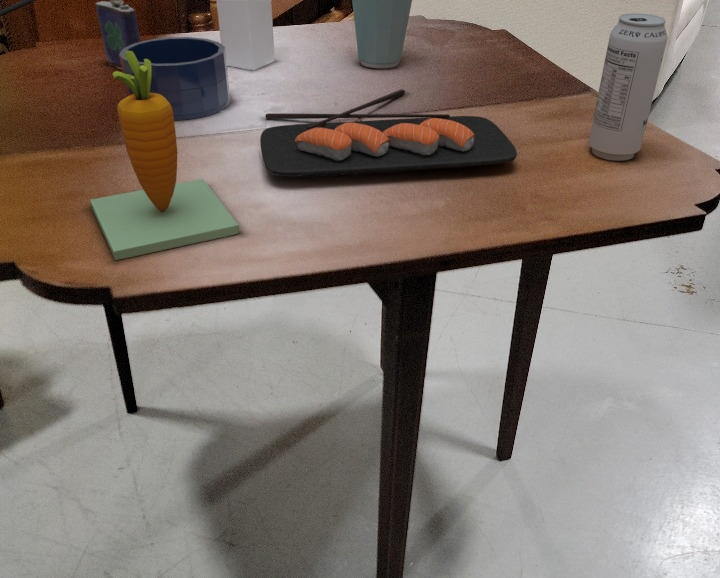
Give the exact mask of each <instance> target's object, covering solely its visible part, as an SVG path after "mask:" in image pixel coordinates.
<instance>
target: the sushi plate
mask: <svg viewBox="0 0 720 578" xmlns="http://www.w3.org/2000/svg"><path fill="white" fill-rule="evenodd" d="M405 93H406V90H405V89H401V88H400V89H398V90H396V91H394V92H391V93H388V94H386V95H383V96H381V97H378V98H375V99H373V100H371V101H368V102H366V103H364V104H361V105H359V106H356V107H354V108H352V109H348V110H346V111H344V112H341V113H284V112H283V113H281V112H280V113H279V112H278V113H277V112H276V113H266V114H265V119H266V120H309V119H312V120H313V119H315V120H316V119H319V120H320V121H318V122H315V123H299V124H285V125H277V126H271V127H268V128H265V129H264V130H262V132H261V134H260V139H259V141H260V148H261V149H260V151H261V158H262V162H263V166H264V168H265V169H266V170H267V172H268V173H270V174H272V175H274V176H279V177H281V176H282V177H307V178H311V177H312V178H314V177H319V178H320V177H333V176H334V177H335V176H352V175H368V174H383V173H384V174H385V173H400V172H416V171H417V172H418V171H433V170H448V169H450V170H451V169H465V168H472V167H473V168H474V167H479V166H488V165H498V164H506V163H509V162H513V161H515V160H516V158H517V157H518V152H517V149H516V147H515V145H514V144H513V143H512V142H511V140H510V139H509V138H508V136H506V134H505V132H503V131H502V130H501V128H500V127H498V126H497V125H496V124H495V123H494V122H493V121H492V120H490V119H489V118H486V117H483V116H476V115H453V116H452V115H451V114H448V113H446V114H443V113H442V114H441V113H439V114H436V113H435V114H433V113H425V114H424V113H422V114H420V113H418V114H417V113H416V114H415V113H411V114H410V113H409V114H408V113H406V114H405V113H402V114H401V113H356V112H358V111H362V110H364V109H367V108H370V107H374V106H376V105H379V104H382V103H384V102H386V101H389V100H392V99H395V98H398V97H401V96H403V95H405ZM382 118H383V119H382ZM384 118H386V119H384ZM387 118H388V119H387ZM389 118H391V119H389ZM392 118H393V119H392ZM321 119H323V120H321ZM336 119H372V120H355V121H354V120H353V121H335V122H334V120H336ZM373 119H375V120H373ZM331 121H333V122H331Z"/></svg>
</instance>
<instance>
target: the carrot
mask: <svg viewBox="0 0 720 578" xmlns="http://www.w3.org/2000/svg"><path fill="white" fill-rule="evenodd" d="M125 57H126V59H127V61H128V63H129V65H130V67H131V68H132V70H133V72H134V74H135V77H136V78H135V77H134V76H132V75H130V74H127V75H126V74H124V73H123V72H122V71H118V70H115V71H113V72H112V78H114V79H115V80H118V81H121V82H123V83H124V85H125V84H126V85H127V86H129V87H130V88H131V90H132V91H133V93H134V94H131V95H130V96H128V97H127V96H126V97H125V98H123V99H121V100H120V101H119V102H118V103H117V108H116V109H117V115H118V120H119V125H120V129H121V133H122V137H123V141H124V145H125V149H126V152H127V153H126V154H127V155H128V159H129V161H130V164H131V167H132V169H133V171H134V173H135V176H136V179H137V181H138V183H139V185H140V186H141V188H142V190H144V191H145V193H146V195H147V196H148V198H149V199H150V201H151V202H152V203H153V204H154V206H155V207H156V208H157V209H158V210H159V211H161V212H164V211H165V210H166V209H167V208H168V207H169V204H170V201H171V199H172V196H173V193H174V188H175V184H177V177H178V176H177V174H178V173H177V172H178V145H177V133H176V126H175V120H174V117H173V110H172V107H171V105H170V103H169V102H168V101H167V100H166V99H165V98H164V97H163V96H162V95H160V94H157V93H150V86H151V78H152V68H151V62H150V61H149V60H148V59H144V65H142V66H140V64H139V62H138V60H137V58H136V56H135V54H134V53H133V51H127V52H126V53H125ZM136 79H137V81H136ZM137 82H138V83H137Z"/></svg>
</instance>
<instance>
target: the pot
mask: <svg viewBox="0 0 720 578" xmlns="http://www.w3.org/2000/svg"><path fill="white" fill-rule="evenodd" d="M127 51H133V53H134V54H135V56H136V58H137V60H138V62H139V64H140V66H142V65H144V59H148V60H149V61H150V62H151V68H152V78H151V86H150V93H157V94H160V95H162V96H163V97H164V98H165V99H166V100H167V101H168V102H169V103H170V105H171V107H172V110H173V117H174V121H185V120H195V119H199V118H204V117H208V116H211V115H215V114H217V113H220V112H221V111H223V110H225V109H226V108H227V107H228V106H229V105H230V102H231V98H230V96H231V91H230V82H229V72H228V71H229V70H228V66H227V61H226V51H225V47H224V46H223V45H222V44H221V42H219V41H216V40H212V39H208V38H202V37H191V36H170V37H169V36H168V37H161V38H151V39H147V40H141V42H138V43H134V44H132V45H130V46H128V47H125V48H123V49H122V51H121V52H120V54H119V57H120V62H121V67H122V69H121V72H122V73H124V74H126V75H127V74H130V75H132V76H134V77H135V74H134V72H133V70H132V68H131V67H130V65H129V63H128V61H127V59H126V57H125V53H126V52H127ZM135 78H136V77H135ZM136 81H137V79H136ZM137 83H138V82H137ZM124 87H125V93H126V97H128V96H130V95H131V94H134V93H133V91H132V90H131V88H130V87H129V86H127V85H126V84H125V83H124Z"/></svg>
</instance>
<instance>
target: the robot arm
mask: <svg viewBox="0 0 720 578" xmlns="http://www.w3.org/2000/svg"><path fill="white" fill-rule="evenodd" d="M36 1H37V0H21V1H19V2H17V3H14V4H13V5H10V6H8V7H5V8H2V9H1V10H0V18H2V17H3V16H5V15H7V14H10V13H12V12H14V11H16V10H19V9H20V8H23V7H26V6H27V5H29V4H32V3H34V2H36Z"/></svg>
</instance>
